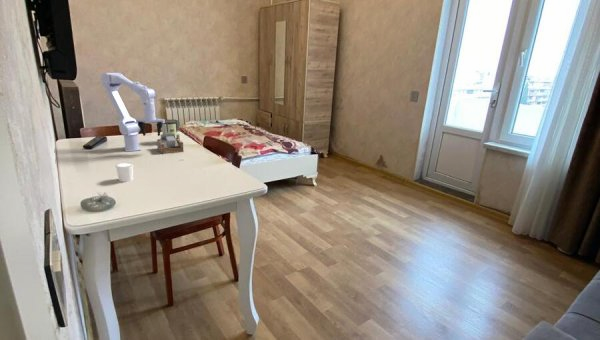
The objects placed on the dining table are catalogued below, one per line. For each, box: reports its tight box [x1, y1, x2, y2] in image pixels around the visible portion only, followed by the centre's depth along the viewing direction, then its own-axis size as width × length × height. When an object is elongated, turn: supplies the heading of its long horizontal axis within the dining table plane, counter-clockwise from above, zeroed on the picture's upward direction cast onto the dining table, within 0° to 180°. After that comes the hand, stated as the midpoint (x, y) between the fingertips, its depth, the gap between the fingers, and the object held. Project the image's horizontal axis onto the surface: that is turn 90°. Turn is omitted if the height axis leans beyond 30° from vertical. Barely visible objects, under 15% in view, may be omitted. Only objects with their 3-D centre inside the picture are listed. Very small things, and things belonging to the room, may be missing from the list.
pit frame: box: [156, 138, 184, 155], centre depth 192 cm, size 13×12×6 cm
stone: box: [166, 136, 175, 147], centre depth 190 cm, size 4×4×4 cm
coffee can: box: [161, 119, 181, 141], centre depth 207 cm, size 10×10×14 cm
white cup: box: [115, 162, 134, 183], centre depth 144 cm, size 7×7×7 cm
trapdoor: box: [159, 133, 179, 148], centre depth 192 cm, size 10×9×3 cm
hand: (151, 135), depth 182 cm, fingers open, 7 cm apart
